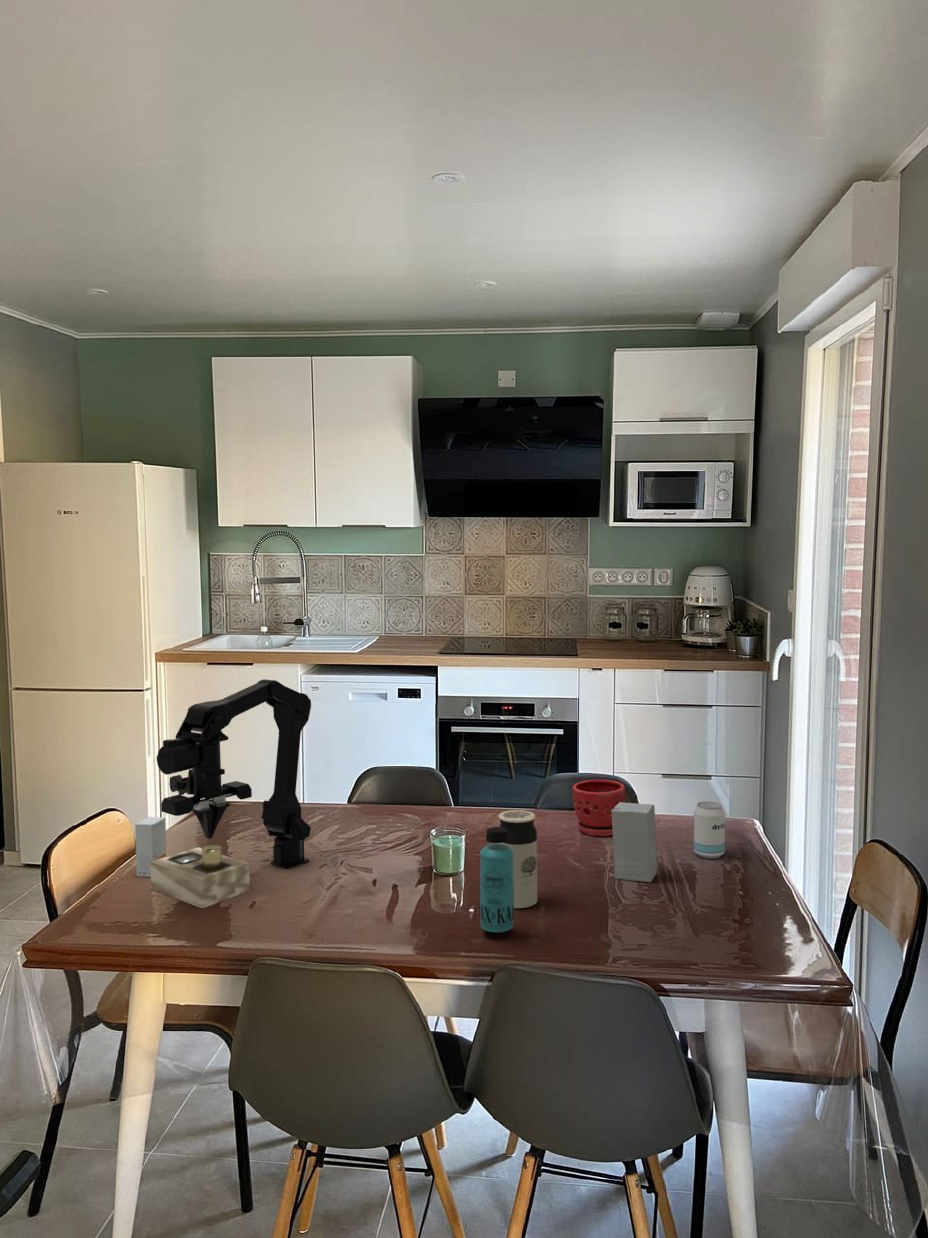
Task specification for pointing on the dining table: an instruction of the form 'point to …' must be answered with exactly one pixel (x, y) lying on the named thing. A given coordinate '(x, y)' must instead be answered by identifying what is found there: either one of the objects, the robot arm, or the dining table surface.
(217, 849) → the brass peg
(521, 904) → the travel mug
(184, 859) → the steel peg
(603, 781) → the plant pot
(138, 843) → the skincare box
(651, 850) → the skincare box
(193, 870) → the collar block
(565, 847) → the dining table surface
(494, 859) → the beverage bottle
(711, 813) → the beverage can
